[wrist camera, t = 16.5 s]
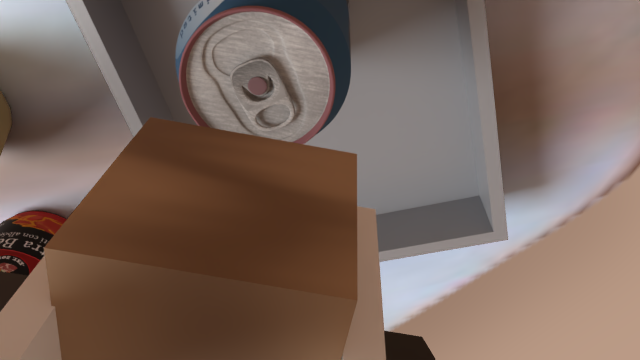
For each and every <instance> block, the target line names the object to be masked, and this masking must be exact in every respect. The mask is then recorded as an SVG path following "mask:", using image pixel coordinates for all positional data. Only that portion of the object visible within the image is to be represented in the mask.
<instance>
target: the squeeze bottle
mask: <svg viewBox="0 0 640 360" xmlns="http://www.w3.org/2000/svg"><path fill="white" fill-rule="evenodd" d="M11 126H12V119H11V109H10V107H9V105H8V103H7V101H6V99H5V97H4V95H3V94H2V92H1V91H0V155H1V153H2V150H3V147H4V145H5V142H6V139H7V137H8V134H9V131H10V129H11Z"/></svg>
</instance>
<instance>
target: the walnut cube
mask: <svg viewBox="0 0 640 360" xmlns="http://www.w3.org/2000/svg"><path fill="white" fill-rule="evenodd" d="M44 253H45V261H46V268H47V276H48V284H49V291H50V299H51V306H55V311H56V319H57V326H58V334H59V342H60V350H61V358H62V360H341V358H342V354H343V350H344V347H345V343H346V340H347V336H348V333H349V329H350V326H351V322H352V318H353V315H354V311H355V308H356V304H357V301H358V291H357V154H355V153H349V152H344V151H338V150H332V149H327V148H321V147H316V146H310V145H304V144H299V143H293V142H287V141H282V140H276V139H271V138H265V137H259V136H254V135H248V134H243V133H237V132H231V131H226V130H220V129H215V128H209V127H203V126H198V125H192V124H186V123H181V122H175V121H170V120H164V119H158V118H153V117H150V118H149V119H148V121H147V122H146V123H145V124H144V125H143V127H142V128H141V129H140V130H139V132H138V133H137V134H136V135H135V137H134V138H133V139H132V140H131V141H130V143H129V144H128V145H127V146H126V148H125V149H124V150H123V151H122V152H121V154H120V155H119V156H118V157H117V159H116V160H115V161H114V162H113V164H112V165H111V166H110V167H109V168H108V170H107V171H106V172H105V173H104V175H103V176H102V177H101V178H100V179H99V181H98V182H97V183H96V184H95V186H94V187H93V188H92V189H91V191H90V192H89V193H88V194H87V195H86V197H85V198H84V199H83V200H82V202H81V203H80V204H79V205H78V206H77V208H76V209H75V210H74V211H73V213H72V214H71V215H70V216H69V218H68V219H67V220H66V221H65V222H64V224H63V225H62V226H61V227H60V229H59V230H58V231H57V232H56V233H55V235H54V236H53V237H52V238H51V240H50V241H49V242H48V243H47V245H46V246H45V247H44Z"/></svg>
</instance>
